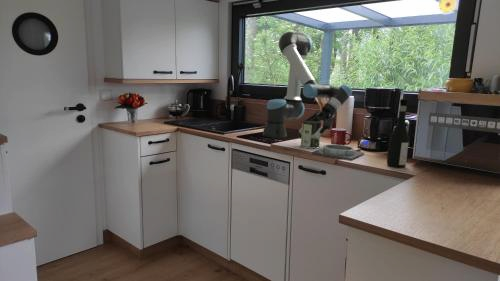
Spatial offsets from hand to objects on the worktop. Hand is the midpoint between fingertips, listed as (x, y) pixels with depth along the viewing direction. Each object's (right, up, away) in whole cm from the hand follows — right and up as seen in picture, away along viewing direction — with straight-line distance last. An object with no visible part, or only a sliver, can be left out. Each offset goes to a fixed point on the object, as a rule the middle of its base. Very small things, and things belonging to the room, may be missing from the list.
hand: (307, 134), depth 198 cm
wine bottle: (+34, -15, -34) cm, 51 cm away
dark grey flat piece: (+13, -10, -14) cm, 22 cm away
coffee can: (+1, -7, +2) cm, 7 cm away
